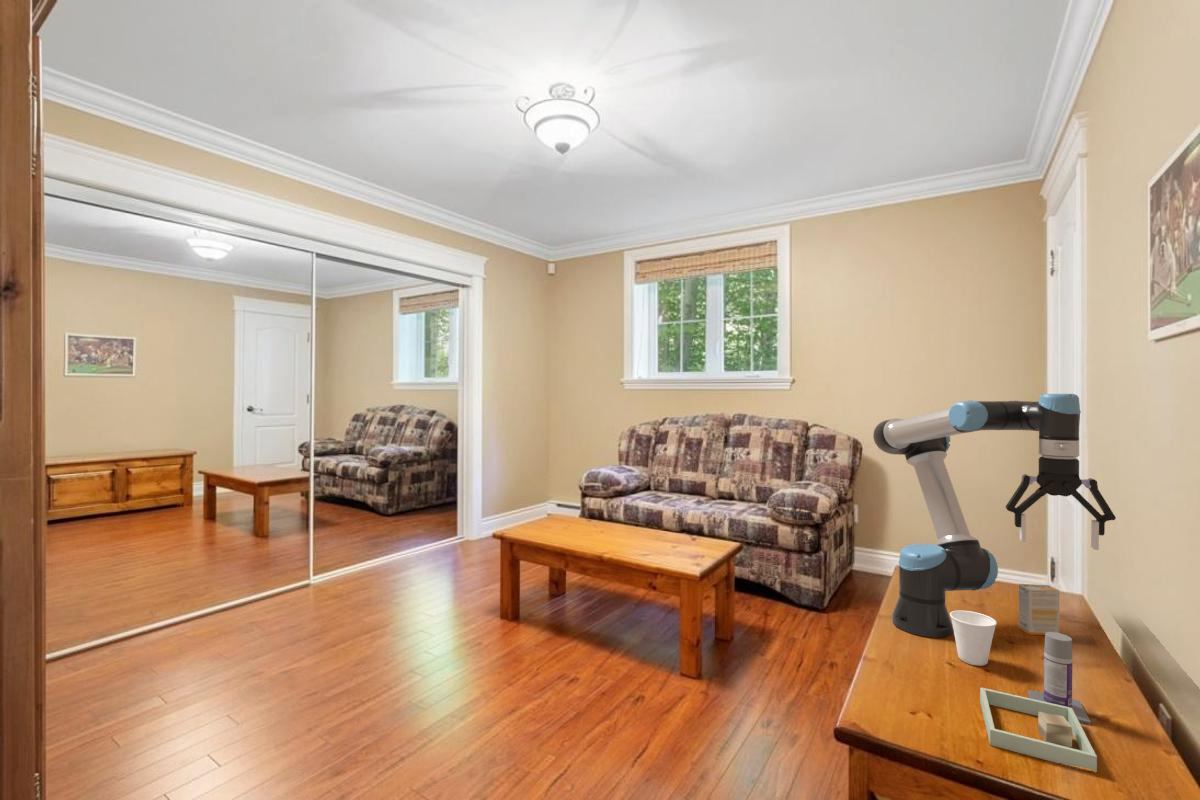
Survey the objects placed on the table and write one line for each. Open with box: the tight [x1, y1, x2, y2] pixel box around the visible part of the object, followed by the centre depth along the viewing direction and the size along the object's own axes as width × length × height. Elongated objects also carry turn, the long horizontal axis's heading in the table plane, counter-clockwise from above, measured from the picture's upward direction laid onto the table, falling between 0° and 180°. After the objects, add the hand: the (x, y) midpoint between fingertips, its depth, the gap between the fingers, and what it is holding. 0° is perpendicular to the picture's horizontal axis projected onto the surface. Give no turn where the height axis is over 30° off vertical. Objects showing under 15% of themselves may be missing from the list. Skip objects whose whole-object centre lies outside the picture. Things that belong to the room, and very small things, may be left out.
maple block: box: [1037, 712, 1073, 748], centre depth 107 cm, size 4×4×4 cm
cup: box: [949, 609, 998, 667], centre depth 138 cm, size 10×10×11 cm
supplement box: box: [1018, 583, 1060, 636], centre depth 155 cm, size 8×5×13 cm, turn 84°
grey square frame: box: [979, 687, 1098, 772], centre depth 108 cm, size 16×18×3 cm
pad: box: [1027, 689, 1092, 726], centre depth 117 cm, size 9×9×1 cm
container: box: [1043, 632, 1073, 708], centre depth 117 cm, size 5×5×15 cm
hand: (1057, 544), depth 131 cm, fingers open, 13 cm apart
